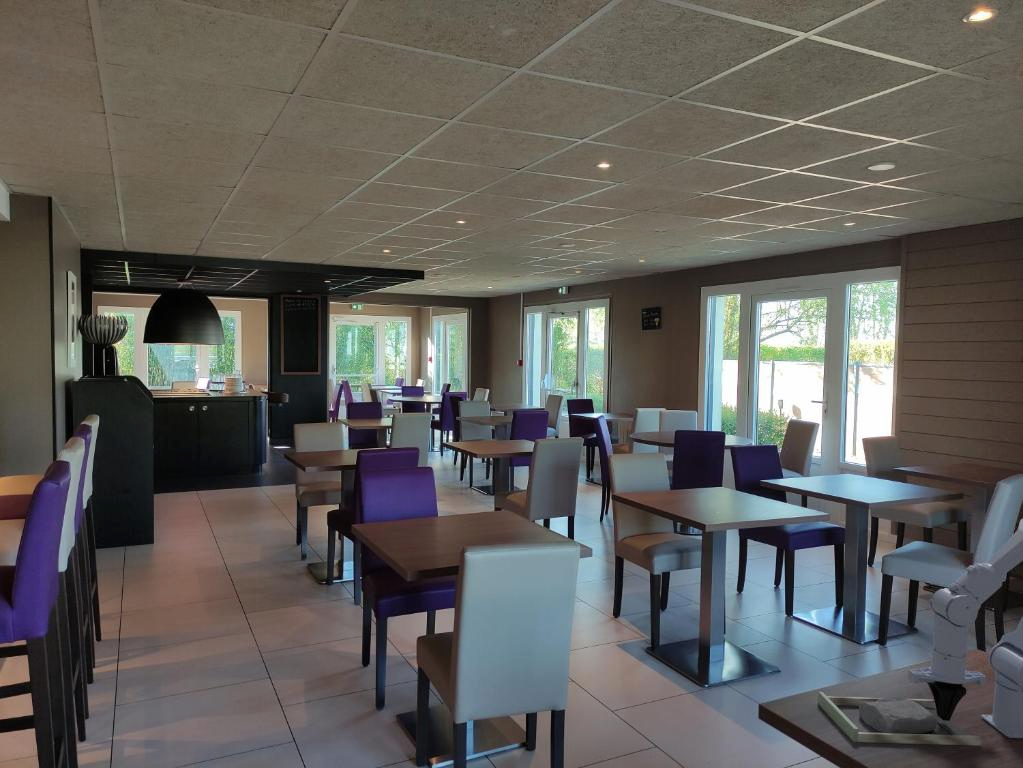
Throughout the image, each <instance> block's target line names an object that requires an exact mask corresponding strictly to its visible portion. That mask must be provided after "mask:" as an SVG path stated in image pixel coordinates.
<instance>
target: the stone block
mask: <svg viewBox="0 0 1023 768" xmlns="http://www.w3.org/2000/svg"><path fill="white" fill-rule="evenodd" d="M883 698H884V699H880V700H877V701H872V702H860V704H859V706H858V714H859V718H861V720H862V721H863V722H864V723H865V724H866V725H868V726H870V727H871V728H872V729H874V730H876V731H877V732H878V733H898V734H925V733H931V732H930V731H932V730H934V729H935V728H936V725H937V724H938V723H937V720H936V717H935V716H934V715H933V714H932V713H930V712H929V711H928V710H926V709H925V708H924V707H922V706H921V705H919V704H918V703H916V702H914V701H910V700H907V699H908V698H902V697H896V696H895V697H883Z"/></svg>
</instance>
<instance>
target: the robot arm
mask: <svg viewBox="0 0 1023 768" xmlns="http://www.w3.org/2000/svg"><path fill="white" fill-rule="evenodd" d="M1021 562H1023V518H1021V519H1020V521H1019V524H1018V527H1017V530H1016V531H1015V532H1014V533H1013V534H1012V535H1011V536H1010V537H1009V538H1008V539H1007V541H1005V542H1004V543H1003V544H1002V546H1001V547H999V548H998V550H997V551H996V552H995V553H994V554H993V555H992V556H991V557H990V558H989V559H988V560H987V561H986V562H977V563H974V564H973V565H969V566H968V567H966V568H965V569H966V571H965V572H964V573H963V574H961V575H960V576H959V577H958V578H957V579H956V580H955V581H954V582H952V583H950V584H949V585H948V587H944V588H939V589H938V590H936V591H935V592H934V593H933V595H932V598H931V599H928V605H929V607H930V610H931V611H932V612H933V620H934V622H933V623H934V625H933V635H932V647H931V648H932V649H931V658H930V659H931V660H930V666H928V667H922V668H915V669H908V674H907V676H908V677H907V679H908V680H909V681H910V682H911V683H912V684H919V683H926V684H927V685H928V687H929V689H930V692H931V694H932V697H933V700H934V701H935V709H936V711H937V716H938V717H940V718H941V719H942V720H944V721H951V718H952V716H953V713H954V712H955V709H956V707H957V706H958V704H959V702H960V701H961V700H962V699H963V697H965V696H966V695H967V688H966V687H964V686H963V684H965V685H966V684H970V685H978V686H983V687H986V683H987V676H986V675H985V674H983V673H982V672H980V671H973V670H972V671H971V670H966V660H967V648H968V636H969V626H970V624H971V623H973V622H975V621H976V620H977V617H978V615H979V614H978V613H979V610H980V609H981V607H982V604H984V602H986V601H987V600H988V599H989V598H990V597H991V596H993V594H994V593H996V592H997V591H998V590H999V589H1000V588H1001V587H1002V586H1003V576H1005V575H1006V574H1007V573H1009V571H1011V570H1012V569H1013V568H1016V566H1017V565H1019V564H1020V563H1021ZM987 660H988V664H989V666H990V668H991V669H993V670H994V671H993V676H994V677H995V680H994V691H993V692H994V693H993V703H992V713H991V714H981V715H980V717H981V718H982V719H983V720H984V721H985V722H987V723H988V724H989V725H991V726H992V727H993V728H994V729H996V730H997V731H999V732H1000V733H1001V734H1003V735H1004V736H1005V737H1008V738H1009V739H1023V616H1022V617H1021V618H1020V621H1019V623H1018V625H1017V627H1016V629H1015V631H1010V632H1008V633H1006V634H1003V635H1002V636H1001V638H1000V640H999V641H998V642H997V644H995V645H994V646H993V647H991V649H990V651H989V653H988V656H987Z"/></svg>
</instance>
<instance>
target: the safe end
mask: <svg viewBox="0 0 1023 768" xmlns="http://www.w3.org/2000/svg"><path fill="white" fill-rule="evenodd" d="M817 695H818V697H817V704H818V706H819V707H820V708H822V710H823V711H824V712H825V713H826V714H827V715H828V716H829V717H830V719H832V720H833V722H834V723H835V724H836V725H837V726H838V727H839V728H840V730H842V731H843V732H844V734H845V735H847V737H848V738H849V739H850V740H851V741H852V742H853V743H859V742H858V732H859V728H858V727H857V726H856V725H855V723H853V722H852V721H851V720H850V719H849V718H848V716H847V715H846V714H845V713H844V712H843V711H841V710H840V708H839V707H838V705H835V704H834V703H833V702H832V701H831V700H830V699H829V698H828V697H827V695H826V694H825V693H824V692H823V691H818V694H817Z"/></svg>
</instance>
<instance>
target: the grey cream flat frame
mask: <svg viewBox="0 0 1023 768" xmlns="http://www.w3.org/2000/svg"><path fill="white" fill-rule="evenodd" d="M826 696H827V695H826ZM827 697H828V698H829V699H830V700H831V701H832V702H833V703H834V704H835V705H836V706H845V707H846V706H848V707H849V706H851V707H852V706H853V707H855V706H856V707H859V704H860V702H872V701H877V700H880V699H884V698H885V697H863V696H861V697H860V696H832V695H831V696H830V695H829V696H827ZM906 699H907V700H910V701H914V702H916V703H918V704H919V705H921V706H922V707H924V708H935V707H936V705H935V701H934V699H925V698H924V699H920V698H906ZM981 741H982V737H981V736H980V735H968V736H965V735H951V734H950V735H933V734H932V733H931V734H929V733H927V734H925V733H917V734H898V733H881V732H863V731H861V732H860V731H858V742H857V743H875V744H876V743H879V744H883V743H884V744H912V745H913V744H915V745H949V746H952V745H953V746H981V743H982V742H981Z"/></svg>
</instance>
